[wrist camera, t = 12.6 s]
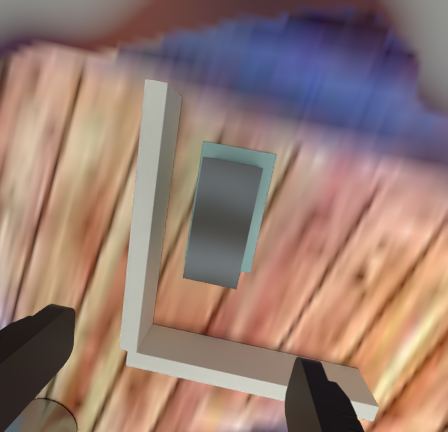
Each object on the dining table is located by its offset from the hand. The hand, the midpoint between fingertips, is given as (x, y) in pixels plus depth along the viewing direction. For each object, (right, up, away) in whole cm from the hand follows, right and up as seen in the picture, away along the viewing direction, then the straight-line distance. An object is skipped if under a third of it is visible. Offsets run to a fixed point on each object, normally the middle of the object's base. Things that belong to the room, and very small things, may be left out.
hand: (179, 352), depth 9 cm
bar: (+2, +5, +19) cm, 20 cm away
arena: (+7, +1, +20) cm, 21 cm away
